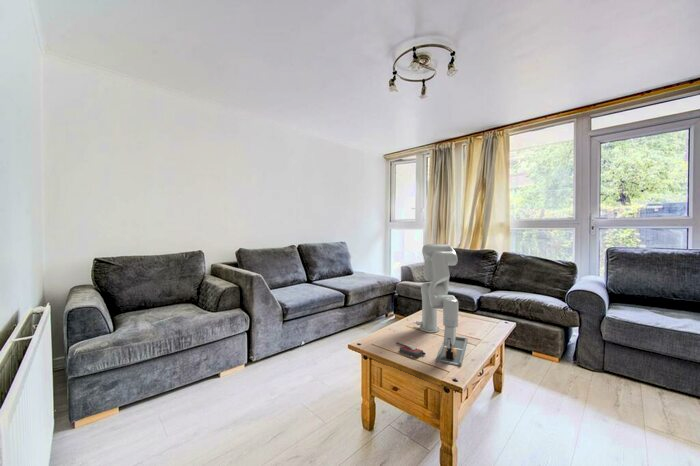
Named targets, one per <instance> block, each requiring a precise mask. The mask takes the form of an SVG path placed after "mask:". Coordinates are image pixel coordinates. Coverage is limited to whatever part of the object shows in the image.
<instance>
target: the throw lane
mask: <svg viewBox="0 0 700 466" xmlns="http://www.w3.org/2000/svg"><path fill="white" fill-rule="evenodd" d="M467 344H468V338H467V337H462V336H457V335H456V340H455V344H454V347H455V349H456V352H457V354H456V356H455V357H454V358H453V360H450V359H446V355H445V352H444V350H445V348H446V347H447V344H446V345H444V341H443V342H442V344H441V346H440V349H439V350H438V353H437V355H436V359H435V360H436V361H435V362H436V363H442V364H446V365H450V366H456V367H462V366H463V365H462V364H463V361H464V357H465V353H466V348H467V346H468V345H467Z"/></svg>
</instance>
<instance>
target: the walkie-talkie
mask: <svg viewBox="0 0 700 466" xmlns="http://www.w3.org/2000/svg"><path fill="white" fill-rule="evenodd" d="M396 345H399V346H400V347H399V353H400V352H401V354H403V353H404V355H405V354H406V356H408V355H409V357H411V356H412V358H414V359H420V358H422V357H423V356H425V355H426V353H425V352H424V350H423V349H419V348H418V347H415V346H414V345H412V344H410V343H409V344H408V343H405V344H404V343H401V342H398V341H396Z"/></svg>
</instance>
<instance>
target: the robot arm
mask: <svg viewBox="0 0 700 466" xmlns="http://www.w3.org/2000/svg"><path fill="white" fill-rule="evenodd" d="M421 251H422V252H421V253H422V256H423V261H424V263H423V264H424V265H423V267H424V268H423V277H424V280H425V281H427V282H423V283H422V284H420V285H421V286H420V293H421V303H422V305H421V308H422V309H421V311H422V316H421V320H420V321H418V320H416V321H415V324H416V326H419V330H420V331H422V332H425V333H434V334H435V333H438V332H439V331H440V327H438V310H442V325H443V326H444V329H443V330H444V332H443V333H444V334H443V342H444V345H446V344H447V350H446V359H450V360H453V352H452V347H454V344H455V340H456V336H457V328H459V300H458V299H457V298H456V297H455V295H452V294H448V293H449V286H450V284H449V283H450V277H451V275H450V268H449V266H456V265H457V264H458V261H459V260H458V259H459V258H458V255H457V253H456V250H455V249H454V248H453V246H451V245H450V244H448V243H446V244H444V243H442V244H441V243H440V244H438V243H437V244H436V243H433V244H430V243H429V244H424V245H423V246H422V249H421ZM450 347H451V348H450ZM454 348H455V347H454Z"/></svg>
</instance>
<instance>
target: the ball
mask: <svg viewBox="0 0 700 466" xmlns="http://www.w3.org/2000/svg"><path fill="white" fill-rule="evenodd" d="M450 348H451V347H450ZM446 350H447V347H446V348H445V350H444V352H445V355H446ZM452 352H453V358H454V357H455V356H456V354H457V352H456V349H455V348H454V347H452Z"/></svg>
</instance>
